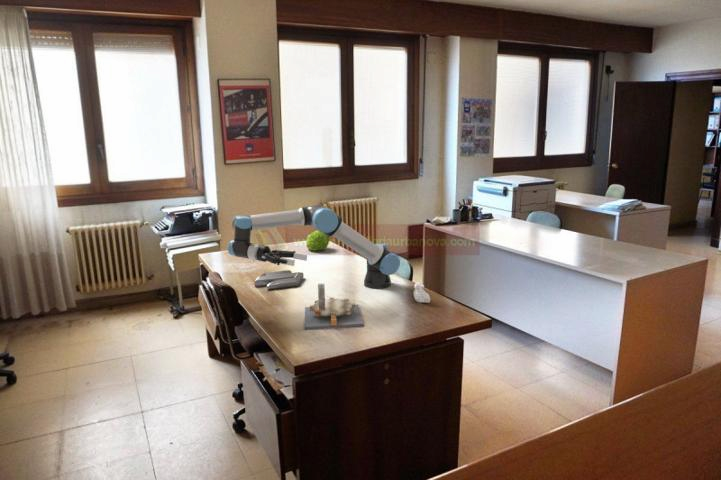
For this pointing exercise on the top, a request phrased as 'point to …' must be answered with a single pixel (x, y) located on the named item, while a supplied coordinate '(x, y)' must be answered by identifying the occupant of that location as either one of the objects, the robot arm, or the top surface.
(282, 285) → the grey flat lobed piece
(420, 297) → the duck figurine
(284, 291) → the top surface
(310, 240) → the lettuce
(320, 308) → the white lobed piece
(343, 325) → the sprocket stand
